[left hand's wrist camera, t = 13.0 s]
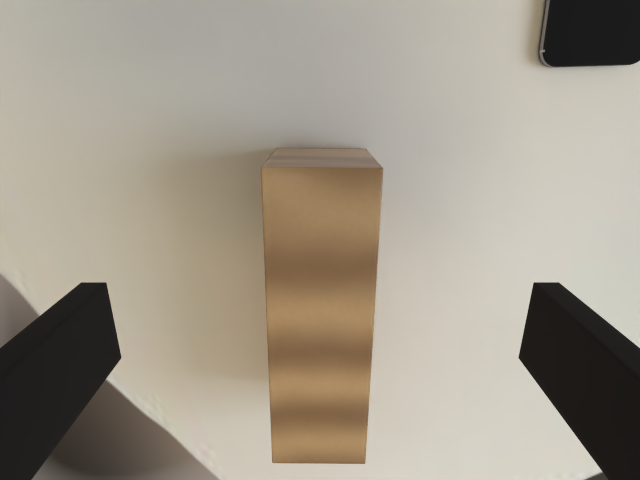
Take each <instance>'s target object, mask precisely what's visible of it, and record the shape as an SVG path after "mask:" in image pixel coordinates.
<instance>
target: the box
mask: <svg viewBox="0 0 640 480" xmlns="http://www.w3.org/2000/svg"><path fill="white" fill-rule="evenodd" d="M382 179H383V168H382V167H381V166H380V164H379V163H378V162H377V161H376V160H375V159H374V157H373V156H372V155H371V154H370V153H369V152H368V150H367V149H333V148H277V149H276V150H275V151H274V152H273V154H272V155H271V156H270V157H269V158H268V160H267V161H266V162H265V163H264V164H263V166H262V167H261V180H262V206H263V232H264V258H265V284H266V310H267V336H268V362H269V388H270V414H271V441H272V462H273V463H336V464H365V459H366V442H367V426H368V409H369V393H370V376H371V360H372V343H373V327H374V311H375V294H376V278H377V261H378V245H379V228H380V212H381V195H382Z"/></svg>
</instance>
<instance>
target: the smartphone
mask: <svg viewBox="0 0 640 480" xmlns="http://www.w3.org/2000/svg"><path fill="white" fill-rule="evenodd" d="M539 55H540V59H541V61H542V63H543V64H545V65H546V66H548V67H578V66H612V65H631V64H634V63H636V62H638V61H639V60H640V0H547V1H546V8H545V16H544V23H543V30H542V37H541V44H540V51H539Z"/></svg>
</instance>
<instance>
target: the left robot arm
mask: <svg viewBox="0 0 640 480" xmlns="http://www.w3.org/2000/svg"><path fill="white" fill-rule="evenodd" d="M120 359H121V354H120V349H119V344H118V339H117V334H116V329H115V324H114V319H113V314H112V309H111V304H110V299H109V294H108V289H107V284H106V283H80V284H79V285H78V286H76V287H75V288H74V289H73V290H72V291H70V292H69V293H68V294H67V295H65V296H64V297H63V298H62V299H60V300H59V301H58V302H57V303H55V304H54V305H53V306H52V307H51V308H49V309H48V310H47V311H46V312H44V313H43V314H42V315H41V316H39V317H38V318H37V319H36V320H35V321H33V322H32V323H31V324H30V325H28V326H27V327H26V328H25V329H23V330H22V331H21V332H20V333H19V334H17V335H16V336H15V337H14V338H12V339H11V340H10V341H9V342H7V343H6V344H5V345H4V346H2V347H1V348H0V480H31V479H32V478H33V477H34V475H35V474H36V473H37V471H38V470H39V469H40V467H41V466H42V465H43V463H44V462H45V461H46V459H47V458H48V456H49V455H50V454H51V452H52V451H53V450H54V448H55V447H56V446H57V444H58V443H59V442H60V440H61V439H62V438H63V436H64V435H65V433H66V432H67V431H68V429H69V428H70V427H71V425H72V424H73V423H74V421H75V420H76V419H77V417H78V416H79V415H80V413H81V412H82V410H83V409H84V408H85V406H86V405H87V404H88V402H89V401H90V400H91V398H92V397H93V396H94V394H95V393H96V391H97V390H98V389H99V387H100V386H101V385H102V383H103V382H104V381H105V379H106V378H107V377H108V375H109V374H110V373H111V371H112V370H113V368H114V367H115V366H116V364H117V363H118V362H119V360H120ZM519 359H520V360H521V362H522V363H523V364H524V366H525V367H526V368H527V370H528V371H529V373H530V374H531V375H532V377H533V378H534V379H535V381H536V382H537V383H538V385H539V386H540V387H541V389H542V390H543V391H544V393H545V394H546V396H547V397H548V398H549V400H550V401H551V402H552V404H553V405H554V406H555V408H556V409H557V410H558V412H559V413H560V415H561V416H562V417H563V419H564V420H565V421H566V423H567V424H568V425H569V427H570V428H571V429H572V431H573V432H574V433H575V435H576V436H577V438H578V439H579V440H580V442H581V443H582V444H583V446H584V447H585V448H586V450H587V451H588V452H589V454H590V455H591V456H592V458H593V459H594V461H595V462H596V463H597V465H598V466H599V467H600V469H601V470H602V471H603V473H604V474H605V475H606V477H607V478H608V479H609V480H640V348H639V347H638V346H636V345H635V344H634V343H633V342H631V341H630V340H629V339H628V338H626V337H625V336H624V335H623V334H621V333H620V332H619V331H618V330H617V329H615V328H614V327H613V326H612V325H610V324H609V323H608V322H607V321H605V320H604V319H603V318H602V317H601V316H599V315H598V314H597V313H596V312H594V311H593V310H592V309H591V308H589V307H588V306H587V305H586V304H585V303H583V302H582V301H581V300H580V299H578V298H577V297H576V296H575V295H573V294H572V293H571V292H570V291H568V290H567V289H566V288H565V287H564V286H562V285H561V284H560V283H534V284H533V289H532V294H531V299H530V304H529V309H528V314H527V319H526V324H525V329H524V334H523V339H522V344H521V349H520V354H519Z"/></svg>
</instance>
